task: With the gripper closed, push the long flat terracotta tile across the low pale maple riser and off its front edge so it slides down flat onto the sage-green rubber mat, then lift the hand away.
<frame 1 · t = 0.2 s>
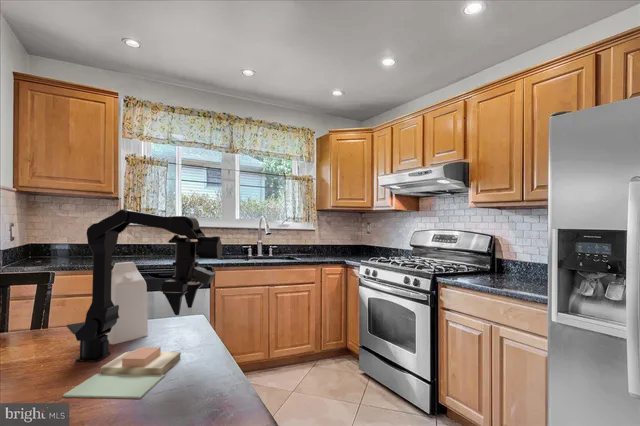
hand: (183, 311, 106), 14 cm above the table, tool pointing down, fingers open, 9 cm apart
tile: (142, 359, 98), point 2 cm above the table, touching riser
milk: (122, 337, 125), on the table
mat: (116, 386, 87), on the table
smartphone: (81, 329, 136), on the table
riser: (142, 366, 99), on the table
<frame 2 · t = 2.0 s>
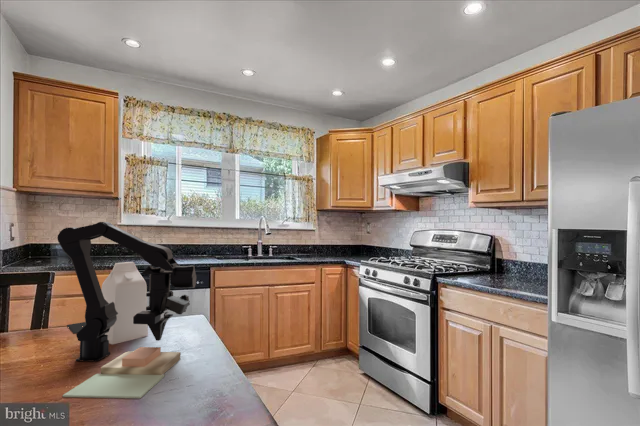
hand: (158, 340, 108), 4 cm above the table, tool pointing down, fingers closed
nothing on the table moved.
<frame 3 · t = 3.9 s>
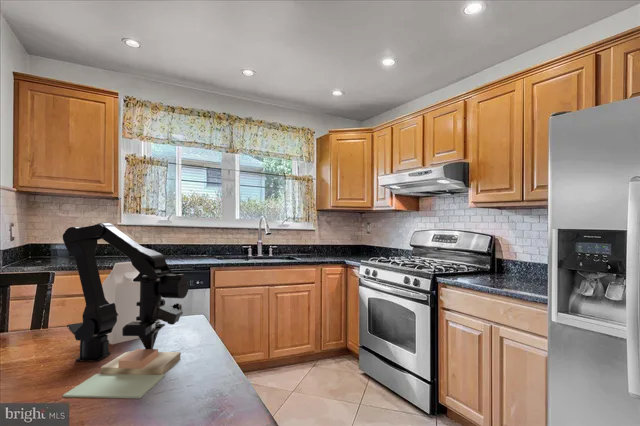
hand: (149, 351, 102), 3 cm above the table, tool pointing down, fingers closed
tile: (139, 361, 97), point 2 cm above the table, touching riser
everything else where it was.
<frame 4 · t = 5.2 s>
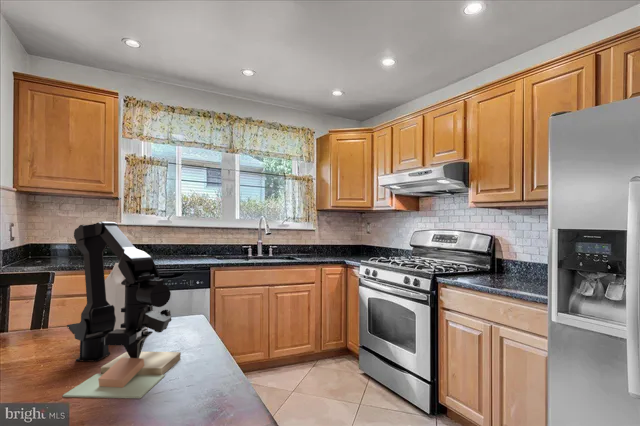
hand: (135, 361, 95), 3 cm above the table, tool pointing down, fingers closed
tile: (122, 375, 90), point 1 cm above the table, tilted 12°, touching gripper
everything else where it was.
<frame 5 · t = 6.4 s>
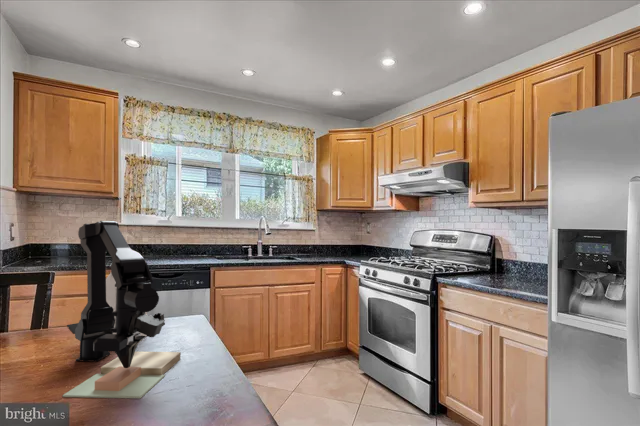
hand: (126, 367, 91), 3 cm above the table, tool pointing down, fingers closed
tile: (118, 382, 88), resting on mat
everything else where it was.
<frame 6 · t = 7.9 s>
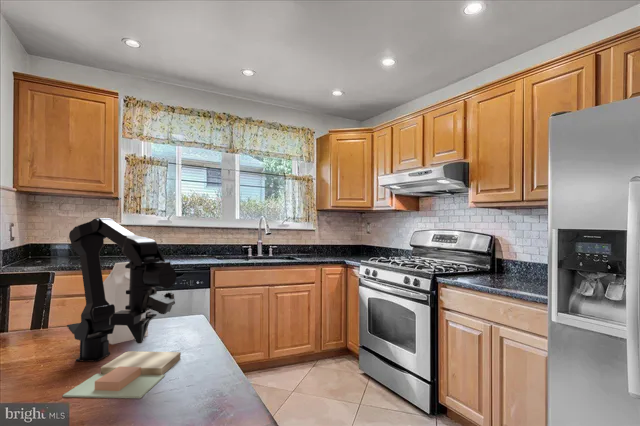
hand: (139, 343, 97), 7 cm above the table, tool pointing down, fingers closed
nothing on the table moved.
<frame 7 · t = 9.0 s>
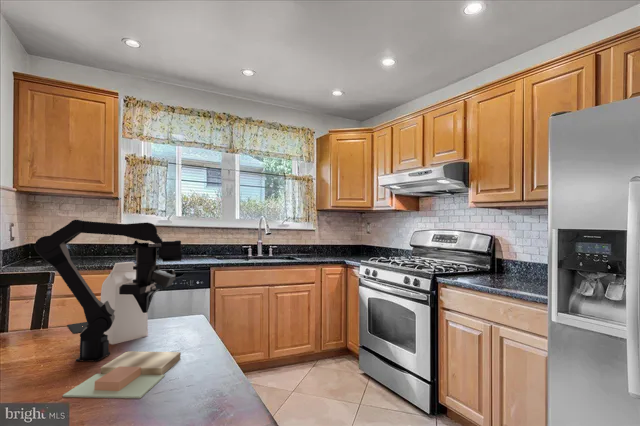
hand: (145, 312, 111), 12 cm above the table, tool pointing down, fingers closed
nothing on the table moved.
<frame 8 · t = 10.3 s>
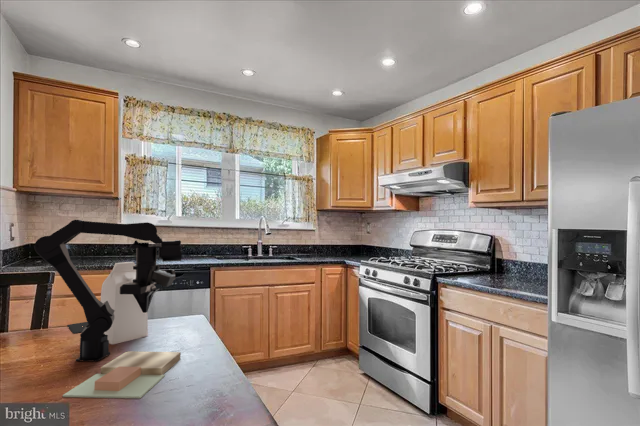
hand: (145, 312, 111), 12 cm above the table, tool pointing down, fingers closed
nothing on the table moved.
at the end: tile inside the target area (1.7 cm from its centre), resting on mat; tile tilted 0° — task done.
